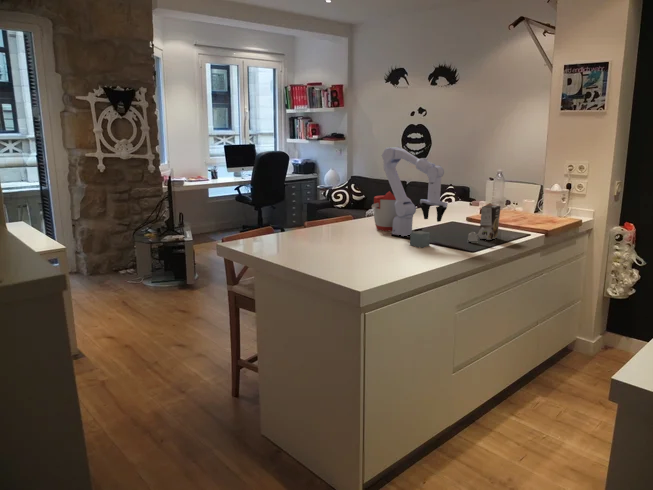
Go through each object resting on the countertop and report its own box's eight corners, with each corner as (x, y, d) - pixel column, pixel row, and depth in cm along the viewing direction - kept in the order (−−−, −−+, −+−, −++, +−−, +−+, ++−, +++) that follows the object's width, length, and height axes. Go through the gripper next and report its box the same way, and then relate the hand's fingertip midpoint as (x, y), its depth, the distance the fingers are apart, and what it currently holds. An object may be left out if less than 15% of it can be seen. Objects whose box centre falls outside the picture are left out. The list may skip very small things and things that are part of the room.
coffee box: (491, 241, 244) (494, 208, 241) (478, 239, 248) (481, 206, 244) (498, 238, 251) (501, 205, 248) (485, 236, 255) (488, 204, 251)
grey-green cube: (409, 245, 233) (410, 232, 232) (418, 243, 237) (419, 230, 236) (420, 247, 228) (421, 234, 227) (429, 245, 232) (430, 232, 231)
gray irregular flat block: (467, 242, 241) (468, 226, 239) (469, 242, 242) (470, 225, 240) (482, 245, 236) (483, 228, 235) (483, 244, 238) (485, 227, 236)
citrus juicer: (364, 227, 272) (365, 190, 267) (392, 225, 279) (394, 189, 275) (379, 233, 258) (381, 193, 254) (408, 231, 265) (410, 192, 261)
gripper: (416, 190, 243) (415, 218, 247) (441, 194, 233) (439, 223, 236) (426, 189, 248) (424, 217, 251) (451, 192, 237) (448, 221, 240)
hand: (432, 220), depth 244 cm, fingers open, 7 cm apart
